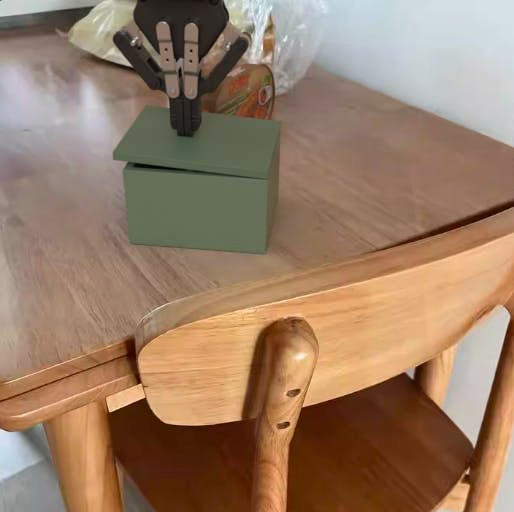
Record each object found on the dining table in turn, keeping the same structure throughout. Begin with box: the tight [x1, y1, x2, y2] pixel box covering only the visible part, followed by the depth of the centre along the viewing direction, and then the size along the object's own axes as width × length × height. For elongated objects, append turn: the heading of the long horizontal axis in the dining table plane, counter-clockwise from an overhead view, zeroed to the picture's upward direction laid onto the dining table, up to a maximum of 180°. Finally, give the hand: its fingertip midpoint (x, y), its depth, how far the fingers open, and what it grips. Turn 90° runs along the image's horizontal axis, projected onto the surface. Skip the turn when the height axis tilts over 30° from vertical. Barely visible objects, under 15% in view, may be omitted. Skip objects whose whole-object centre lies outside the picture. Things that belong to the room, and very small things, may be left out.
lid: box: [112, 104, 282, 179], centre depth 72 cm, size 14×13×1 cm
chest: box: [122, 129, 282, 255], centre depth 75 cm, size 14×13×8 cm
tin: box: [201, 63, 276, 120], centre depth 93 cm, size 15×3×8 cm, turn 151°
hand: (186, 133), depth 72 cm, fingers closed
